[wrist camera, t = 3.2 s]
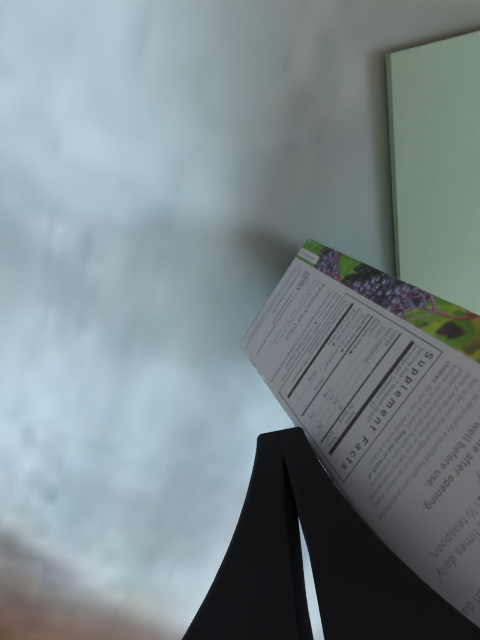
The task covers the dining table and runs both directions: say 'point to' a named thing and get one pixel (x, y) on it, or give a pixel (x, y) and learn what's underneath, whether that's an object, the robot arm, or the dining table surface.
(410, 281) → the mat
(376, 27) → the dining table surface
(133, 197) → the dining table surface
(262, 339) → the syrup box
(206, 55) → the dining table surface
